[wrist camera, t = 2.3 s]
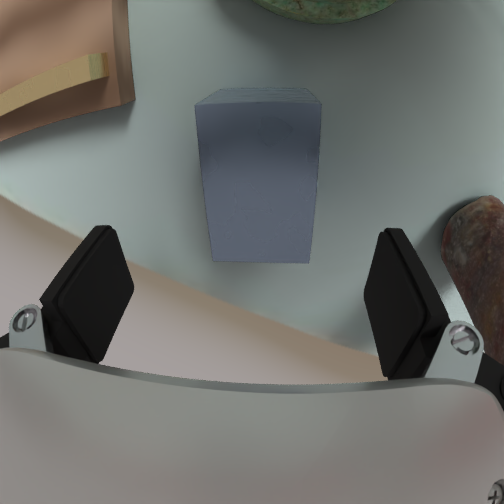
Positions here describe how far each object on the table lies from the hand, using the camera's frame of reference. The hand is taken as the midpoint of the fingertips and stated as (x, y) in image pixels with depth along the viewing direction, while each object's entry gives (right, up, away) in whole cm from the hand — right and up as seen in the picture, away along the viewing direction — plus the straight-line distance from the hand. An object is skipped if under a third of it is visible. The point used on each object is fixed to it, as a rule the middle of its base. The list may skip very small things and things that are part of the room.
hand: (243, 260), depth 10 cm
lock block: (+1, +7, +7) cm, 10 cm away
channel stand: (-15, +17, +1) cm, 23 cm away
